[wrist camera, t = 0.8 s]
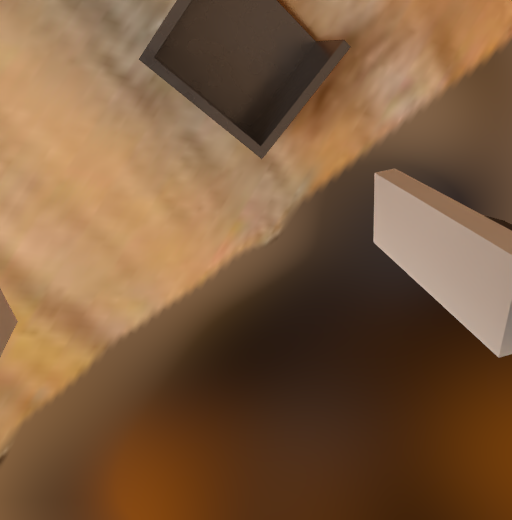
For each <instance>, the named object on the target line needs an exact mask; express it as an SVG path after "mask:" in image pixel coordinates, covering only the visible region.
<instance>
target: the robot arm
mask: <svg viewBox="0 0 512 520" xmlns="http://www.w3.org/2000/svg"><path fill="white" fill-rule="evenodd" d="M374 191H375V192H374V243H375V244H376V245H377V246H378V247H380V249H382V250H383V251H384V252H385V253H386V254H387V255H388V256H389V257H390V258H391V259H392V260H394V261H395V262H396V263H397V264H398V265H399V266H400V267H401V268H402V269H403V270H404V271H405V272H407V273H408V274H409V275H410V276H411V277H412V278H413V279H414V280H415V281H416V282H417V283H418V284H420V285H421V286H422V287H423V288H424V289H425V290H426V291H427V292H428V293H429V294H430V295H432V296H433V297H434V298H435V299H436V300H437V301H438V302H439V303H440V304H441V305H442V306H443V307H444V308H446V309H447V310H448V311H449V312H450V313H451V314H452V315H453V316H454V317H455V318H457V319H458V320H459V321H460V322H461V323H462V324H463V325H464V326H465V327H466V328H467V329H468V330H469V331H471V332H472V333H473V334H474V335H475V336H476V337H477V338H478V339H479V340H480V341H481V342H482V343H484V344H485V345H486V346H487V347H488V348H489V349H490V350H491V351H492V352H493V353H494V354H496V355H497V356H498V357H502V356H506V355H510V354H512V225H511V224H509V223H507V222H505V221H503V220H499V219H495V218H492V217H488V216H483V215H481V214H479V213H477V212H476V211H474V210H472V209H470V208H468V207H466V206H464V205H462V204H460V203H459V202H456V201H455V200H453V199H451V198H449V197H447V196H445V195H444V194H442V193H440V192H438V191H436V190H434V189H432V188H430V187H429V186H427V185H425V184H423V183H421V182H419V181H417V180H415V179H414V178H412V177H410V176H408V175H406V174H404V173H402V172H400V171H398V170H396V169H391V170H386V171H381V172H376V173H375V187H374ZM17 322H18V321H17V319H16V317H15V316H14V314H13V312H12V310H11V308H10V306H9V304H8V302H7V300H6V299H5V297H4V295H3V293H2V291H1V289H0V356H1V354H2V352H3V350H4V348H5V346H6V344H7V342H8V340H9V338H10V336H11V334H12V332H13V330H14V328H15V326H16V324H17Z"/></svg>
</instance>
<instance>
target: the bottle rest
mask: <svg viewBox="0 0 512 520" xmlns="http://www.w3.org/2000/svg"><path fill="white" fill-rule="evenodd" d="M349 48H350V46H349V45H348V43H347V42H346V41H345V40H332V41H315V40H314V39H313V38H312V37H311V36H310V35H309V34H308V33H307V32H306V31H305V30H304V29H303V28H302V27H301V26H300V24H299V23H298V22H297V21H296V20H295V19H294V18H293V17H292V16H291V15H290V14H289V13H288V12H287V11H286V10H285V9H284V8H283V7H282V6H281V4H280V3H279V2H278V1H277V0H177V1H176V3H175V4H174V6H173V7H172V9H171V10H170V12H169V14H168V15H167V17H166V18H165V20H164V21H163V23H162V24H161V26H160V27H159V29H158V30H157V32H156V34H155V35H154V37H153V38H152V40H151V41H150V43H149V44H148V46H147V47H146V49H145V50H144V52H143V54H142V55H141V57H140V58H139V60H140V61H142V62H143V63H144V64H145V65H146V66H148V67H149V68H150V69H151V70H153V71H154V72H155V73H156V74H158V75H159V76H160V77H161V78H163V79H164V80H165V81H166V82H167V83H169V84H170V85H171V86H172V87H174V88H175V89H176V90H177V91H179V92H180V93H181V94H182V95H183V96H185V97H186V98H187V99H188V100H190V101H191V102H192V103H193V104H195V105H196V106H197V107H198V108H200V109H201V110H202V111H203V112H204V113H206V114H207V115H208V116H209V117H211V118H212V119H213V120H214V121H216V122H217V123H218V124H219V125H221V126H222V127H223V128H224V129H225V130H227V131H228V132H229V133H230V134H232V135H233V136H234V137H235V138H237V139H238V140H239V141H240V142H241V143H243V144H244V145H245V146H246V147H248V148H249V149H250V150H251V151H253V152H254V153H255V154H256V155H258V156H259V157H260V158H261V159H262V158H263V157H264V156H265V155H266V153H267V152H268V151H269V150H270V148H271V147H272V146H273V145H274V143H275V142H276V141H277V139H278V138H279V137H280V136H281V134H282V133H283V132H284V131H285V129H286V128H287V127H288V126H289V124H290V123H291V122H292V120H293V119H294V118H295V117H296V115H297V114H298V113H299V112H300V110H301V109H302V108H303V107H304V105H305V104H306V103H307V102H308V100H309V99H310V98H311V96H312V95H313V94H314V93H315V91H316V90H317V89H318V88H319V86H320V85H321V84H322V83H323V81H324V80H325V79H326V78H327V76H328V75H329V74H330V72H331V71H332V70H333V69H334V67H335V66H336V65H337V64H338V62H339V61H340V60H341V59H342V57H343V56H344V55H345V54H346V52H347V51H348V50H349Z"/></svg>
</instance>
